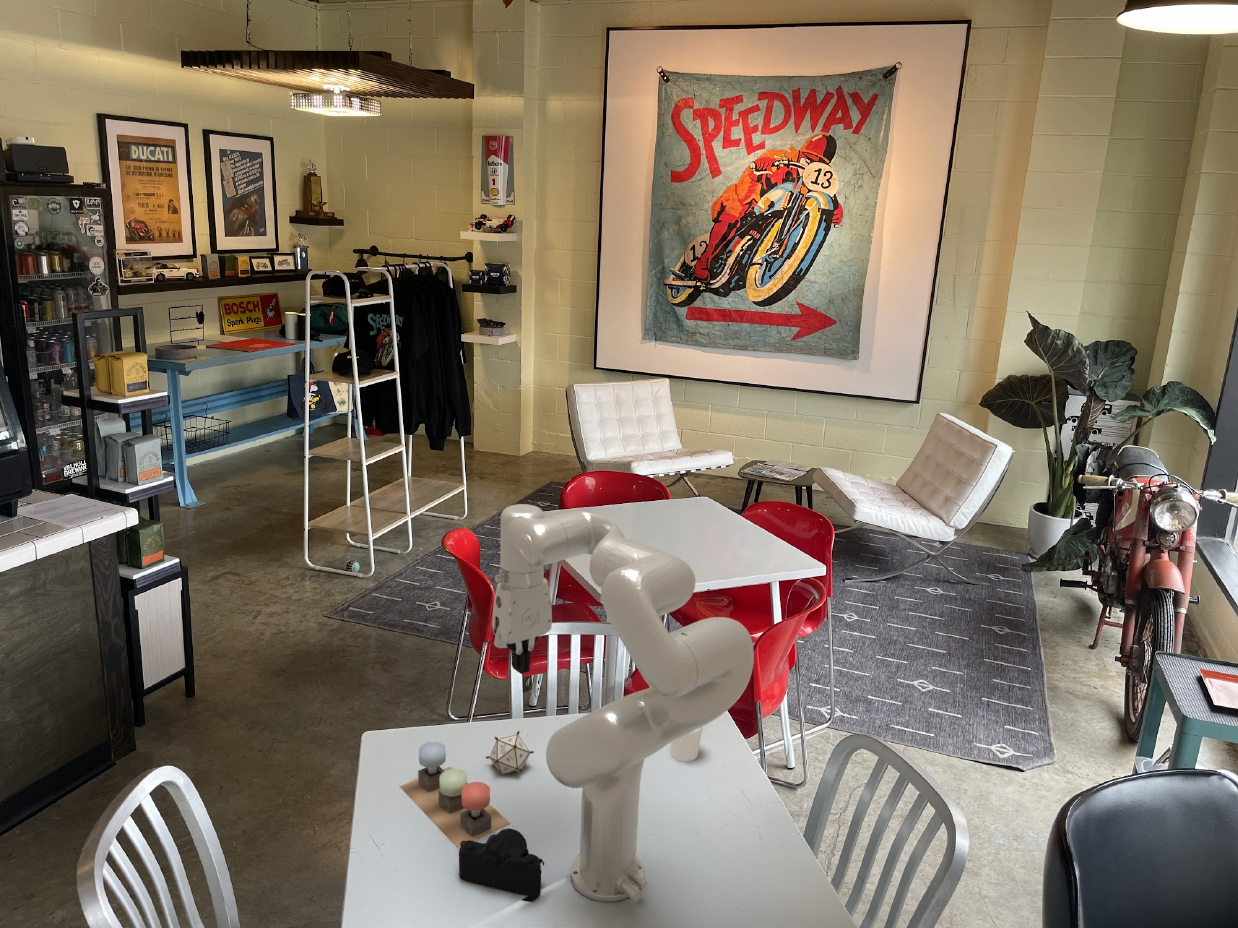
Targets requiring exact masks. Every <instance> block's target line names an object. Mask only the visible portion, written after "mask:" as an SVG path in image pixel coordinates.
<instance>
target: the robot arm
mask: <svg viewBox="0 0 1238 928" xmlns="http://www.w3.org/2000/svg"><path fill="white" fill-rule="evenodd" d="M585 554H586V555H591V556H590V561H589V574H590V577H591V579H592V581H593V583H594V584H595V585H596V586H597V587H599V588H600V589H601V590H600V591H601V592H600V593H601V594H600V596H601V602H602V606H603V609H604V612H605V613H606V616H607V618H608V620H609V622H610V624H611V625H612V628H613V629H614V631H615V632H616V634H617V636H618V638H619V640H620V641H621V642H622V644H623V646H624V647H625V649H626V651H627V652H628V654H629V656H630V658H631V660H632V661H633V663H634V665H635V666H636V668H637V669H638V672H639V673H640V675H641V676H642V679H643V680H644V681H645V682H646V684H647V685H648V686H649V687H648V688H645V689H642V690H639V691H635V692H632V693H630V694H627V695H625V696H622V697H621V698H618V699H617V700H614V701H612V702H610V703H608V704H605V705H602V707H601V706H600V707H599V708H597V709H595V710H593V711H591V712H589V713H587V714H586V715H583V716H582V717H580V718H578V719H576V720H574V721H572V722H570V723H569V724H567V725H565V726H563V727H561V728H559V729H557V730H556V731H555V732H554V733H553V734H552V735H551V736H550V738H549V740H548V742H547V746H546V751H545V758H546V764H547V768H548V770H549V772H550V773H551V775H552V776H553V778H554V779H555V780H556V782H558V783H560V784H561V785H563V786H565V787H568V788H570V789H581V808H580V809H581V810H580V811H581V812H580V813H581V814H580V844H579V854H577V856H576V857H575V858H574V859H573V861H572V862H571V865H570V874H569V875H570V876H569V877H570V880H571V881H570V882H571V884H572V886H573V887H574V888H575V889H576V890H577V891H578V892H579V893H580V894H582V895H584V896H586V897H587V898H589V899H593V900H595V901H599V902H600V901H601V902H616V901H620V900H621V901H622V900H625V899H627V898H629V899H630V900H632V902H638V901H639V900H640V899H641V897H642V893H643V892H642V890H644V889H646V888H647V887H648V882H647V881H646V880H645V868H644V865H643V862H641V860H640V858H638V857H637V843H638V841H637V840H638V825H639V824H638V823H639V821H638V820H639V805H640V803H639V802H640V790H641V779H642V771H643V767H644V763H645V759H647V758H649V757H651V756H652V755H654V754H656V753H657V752H659V751H660V750H662V749H663V748H664V747H666V746H668V745H669V744H671V742H672V741H674V740H676V739H678V738H680V737H682V736H684V735H686V734H689V733H691V732H692V731H694V730H696V729H698V728H700V727H702V728H703V727H704V726H707V725H708V724H709V723H712V722H714V721H715V720H716V719H718V718H719V717H721V716H722V715H723V714H725V713H726V712H727V711H729V709H731V708H732V706H734V705H735V703H737V701H739V699H740V698H741V696H742V695H743V693H744V692H745V690H746V689H747V686H748V685H749V682H750V679H751V676H752V674H753V673H752V672H753V668H754V663H755V661H754V659H755V655H754V654H755V653H754V652H755V651H754V644H753V639H752V637H751V635H750V632H749V630H748V629H747V628H746V626H744V625H743V624H742V623H741V622H740V621H737V620H735V619H733V618H731V617H727V616H726V617H724V616H722V617H721V616H715V617H709V618H707V617H706V618H704V619H700V620H698V621H694V622H692V623H690V624H688V625H686V626H685V625H684V626H683V627H680V628H677V629H675V630H672V631H669V630H668V629H667V627H666V626H665V624H664V623H663V621H662V619H661V617H662V616H664V615H667V614H670V613H672V612H674V611H676V610H678V609H680V608H681V607H683V606H684V605H685V604H686V603H688V601H689V600H690V599H691V598H692V595H694V592H695V588H696V576H695V573H694V571H693V569H692V567H691V566H690V565H689V564H688V563H687V562H686V561H684V559H681V558H680V557H678V556H676V555H674V554H670V553H668V552H665V551H663V550H660V549H659V550H658V549H656V548H653V547H651V546H648V545H644V544H642V543H638V542H635V541H633V540H630V539H628V538H626V537H625V535H624V533H623V531H622V529H621V528H620V526H618V525H617V523H616V522H615V521H613V520H612V519H610V518H608V517H606V516H603V515H600V514H598V513H597V514H596V513H593V512H590V511H587V510H574V511H573V510H572V511H568V512H563V513H560V514H557V515H552V516H549V517H545V513H544V512H543V510H542V508H540V507H538V506H536V505H533V504H527V503H523V504H522V503H520V504H519V503H517V504H513V505H509V506H507V507H505V508H504V509H503V510H502V511H501V514H500V563H499V564H500V568H499V573H498V574H496V575H494V580H495V582H496V583H497V585H496V589H495V594H494V600H493V607H492V609H493V610H492V621H491V622H492V623H491V624H492V633H493V635H494V636H495V637H494V641H493V645H494V646H495V647H496V648H497V649H507V648H508V649H509V650H511V666H512V668H513V670H515V671H516V672H517V673H519V674H521V675H523V674H525V673H529V672H530V669H531V667H530V666H531V652H532V651H534V650H533V649H534V646H535V643H537V641H538V639H539V638H540V637H543V636H544V635H546V634H547V633H548V632H549V631H551V629H552V627H553V626H552V625H553V613H552V599H551V594H550V593H551V592H550V588H549V587H550V586H549V582H548V579H547V578H545V577H544V566H546V565H550V564H551V565H552V564H554V563H557V562H560V561H563V560H566V559H567V560H568V559H570V558H573V557H576V556H581V555H585Z"/></svg>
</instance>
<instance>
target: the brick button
mask: <svg viewBox="0 0 1238 928" xmlns="http://www.w3.org/2000/svg"><path fill="white" fill-rule="evenodd" d="M490 803H491V788H490V786H489V785H488V784H487V783H484V782H481V781H473V782H468V784H467V785H465V786H464V787H463V788H462V806H463V807H464V808H465V809H467V810H471V816H472V817H479V816H480V810H482V809H484V808H486V807H487V806H488V805H489V804H490Z"/></svg>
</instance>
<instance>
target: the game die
mask: <svg viewBox="0 0 1238 928" xmlns="http://www.w3.org/2000/svg"><path fill="white" fill-rule="evenodd" d="M520 734H521V732H520V730H518V731H516V734H513V735H510V736H505V737H500V738H498V736H494V740H495V743H494V745H493V747H492V750H491V753H490V754H489V755H487V756H485V757H484V758H486V759H490V760H491V762H492V764H493V766H494V767H495V769H496V770H497V771H498V772H499V773H500V775H507V774H510V773H516V772H518V773H520V771H522V770H523V769H524V767H525V765H526V764H527V763H526V762H527V760H528V759H529V757H530V754H534V753H535V751H533V750H529V748H528V747H527V745H526V744H525V743H524V741H523V739H522V738H521V737H520Z"/></svg>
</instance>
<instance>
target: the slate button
mask: <svg viewBox="0 0 1238 928" xmlns="http://www.w3.org/2000/svg"><path fill="white" fill-rule="evenodd" d="M446 760H447V759H446V746H445V745H444V744H443V743H442V742H438V741H429V742H428V741H427V742H425V743H423V744H421V746H419V748H418V762H419V763H418V764H419V765H420V766H421V767H424V768H426V767H427V768H428V773H429V774H435V773H436V772H437V767H438V766H440V767H441V766H442V765H444V763H446Z"/></svg>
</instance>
